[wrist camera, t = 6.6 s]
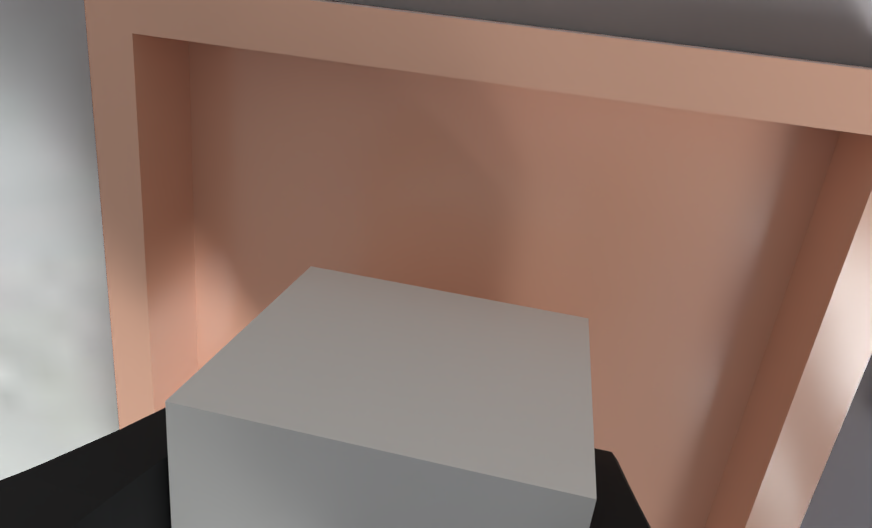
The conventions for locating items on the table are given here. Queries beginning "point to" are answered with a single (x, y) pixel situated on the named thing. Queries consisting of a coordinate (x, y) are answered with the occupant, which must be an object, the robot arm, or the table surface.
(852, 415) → the table surface
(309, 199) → the terracotta tray
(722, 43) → the table surface
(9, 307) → the table surface
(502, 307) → the white cube
